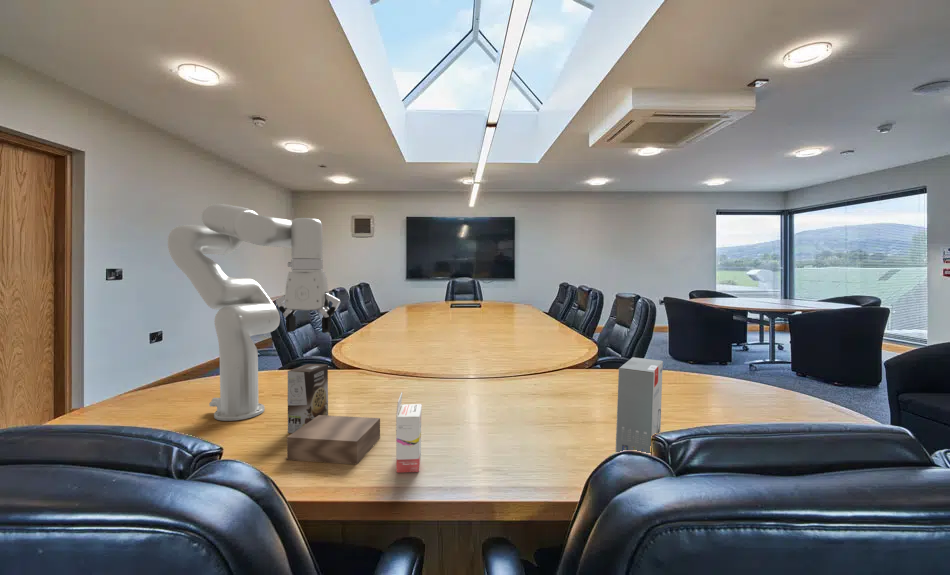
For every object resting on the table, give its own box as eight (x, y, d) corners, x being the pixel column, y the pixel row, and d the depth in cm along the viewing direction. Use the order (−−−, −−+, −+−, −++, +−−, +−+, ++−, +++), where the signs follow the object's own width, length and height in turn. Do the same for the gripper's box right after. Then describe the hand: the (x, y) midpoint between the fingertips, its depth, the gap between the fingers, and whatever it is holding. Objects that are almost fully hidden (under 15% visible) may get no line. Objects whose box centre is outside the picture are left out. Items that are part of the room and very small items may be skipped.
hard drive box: (651, 462, 89) (653, 372, 88) (615, 454, 93) (616, 367, 92) (661, 438, 102) (663, 359, 101) (629, 432, 106) (630, 356, 106)
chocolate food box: (309, 435, 103) (308, 371, 102) (286, 433, 104) (286, 370, 103) (329, 422, 112) (328, 363, 111) (308, 420, 113) (307, 362, 112)
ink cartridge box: (420, 472, 84) (420, 402, 83) (395, 473, 84) (395, 402, 83) (422, 454, 93) (422, 390, 92) (399, 454, 92) (399, 390, 92)
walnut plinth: (287, 459, 89) (286, 437, 89) (319, 434, 103) (319, 415, 103) (357, 464, 87) (356, 441, 87) (380, 438, 101) (380, 418, 101)
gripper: (267, 266, 104) (268, 333, 104) (332, 266, 101) (333, 334, 102) (284, 266, 111) (285, 329, 112) (345, 266, 109) (346, 330, 110)
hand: (308, 331), depth 107 cm, fingers open, 9 cm apart
